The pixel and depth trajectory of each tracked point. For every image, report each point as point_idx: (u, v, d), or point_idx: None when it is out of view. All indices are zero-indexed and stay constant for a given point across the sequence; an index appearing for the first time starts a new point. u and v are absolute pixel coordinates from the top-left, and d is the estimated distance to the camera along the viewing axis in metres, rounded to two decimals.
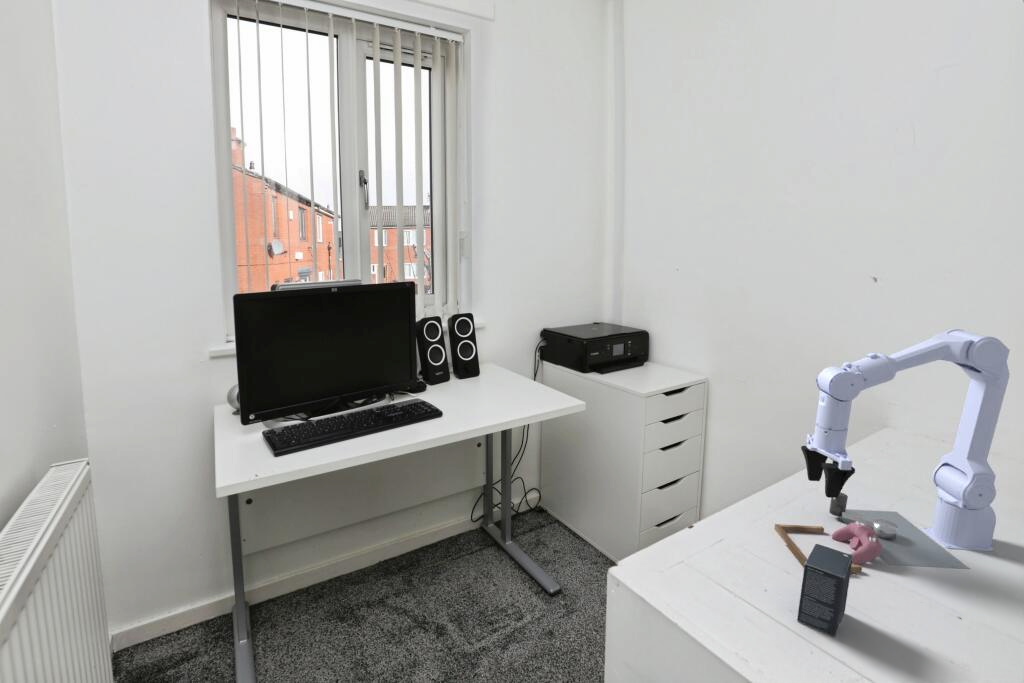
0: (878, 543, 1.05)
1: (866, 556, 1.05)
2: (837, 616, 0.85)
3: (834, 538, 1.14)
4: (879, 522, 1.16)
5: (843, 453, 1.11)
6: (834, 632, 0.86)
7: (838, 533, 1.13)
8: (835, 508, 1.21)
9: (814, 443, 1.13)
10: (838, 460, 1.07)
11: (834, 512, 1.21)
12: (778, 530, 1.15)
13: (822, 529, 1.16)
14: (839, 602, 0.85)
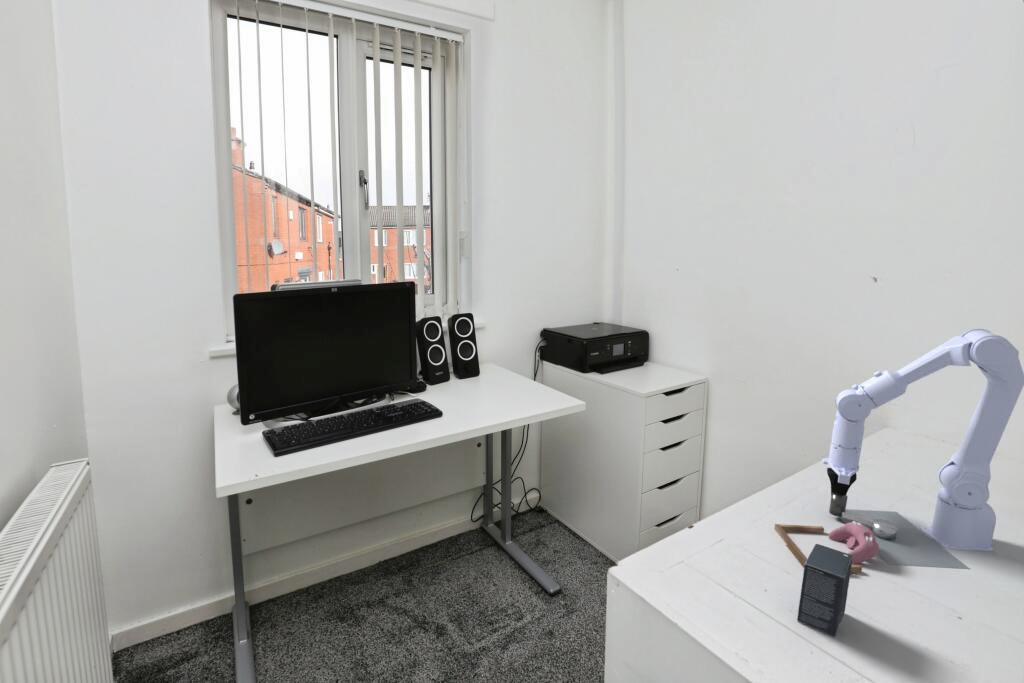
0: (875, 543, 1.05)
1: (863, 556, 1.05)
2: (837, 616, 0.85)
3: (831, 538, 1.14)
4: (879, 522, 1.16)
5: (852, 470, 1.19)
6: (834, 632, 0.86)
7: (835, 533, 1.13)
8: (835, 508, 1.21)
9: None
10: (838, 474, 1.17)
11: (834, 512, 1.21)
12: (778, 530, 1.15)
13: (822, 529, 1.16)
14: (839, 602, 0.85)
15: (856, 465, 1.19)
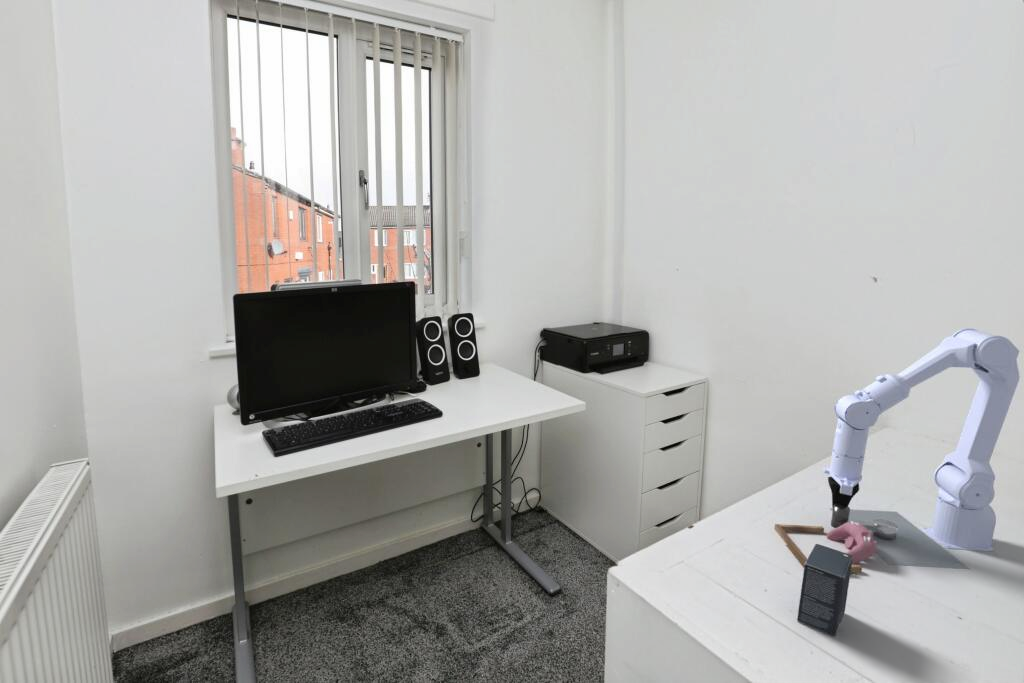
0: (873, 542, 1.05)
1: (860, 555, 1.05)
2: (837, 616, 0.85)
3: (829, 538, 1.14)
4: (880, 524, 1.15)
5: (854, 480, 1.14)
6: (834, 632, 0.86)
7: (833, 533, 1.13)
8: (843, 522, 1.15)
9: (830, 467, 1.18)
10: (840, 484, 1.12)
11: None
12: (778, 530, 1.15)
13: (822, 529, 1.16)
14: (839, 602, 0.85)
15: (859, 475, 1.14)
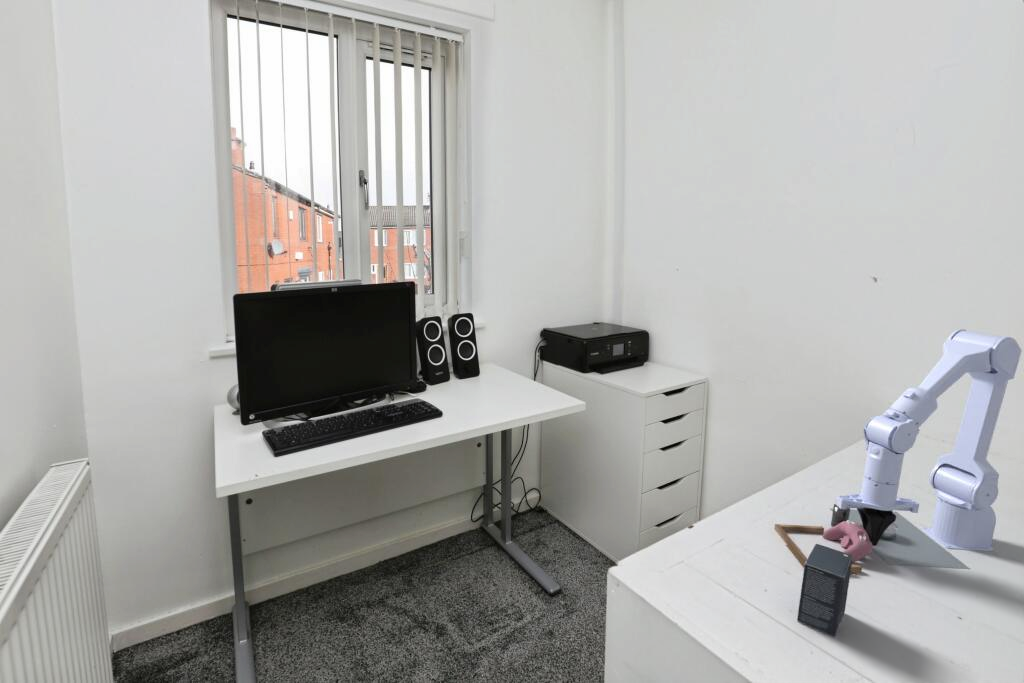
0: (868, 542, 1.05)
1: (856, 555, 1.05)
2: (837, 616, 0.85)
3: (825, 537, 1.14)
4: None
5: (868, 504, 1.06)
6: (834, 632, 0.86)
7: (829, 532, 1.13)
8: None
9: None
10: None
11: None
12: (778, 530, 1.15)
13: (822, 529, 1.16)
14: (839, 602, 0.85)
15: (877, 501, 1.05)
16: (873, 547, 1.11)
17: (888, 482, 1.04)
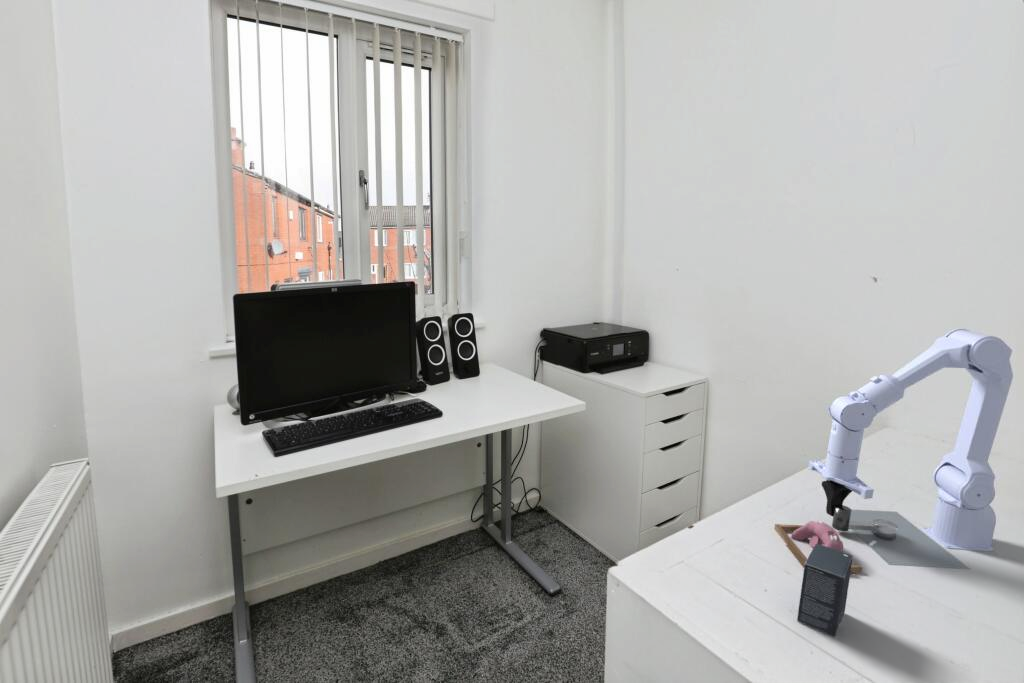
0: (839, 541, 1.05)
1: None
2: (837, 616, 0.85)
3: (794, 538, 1.13)
4: (880, 524, 1.15)
5: (856, 480, 1.14)
6: (834, 632, 0.86)
7: (797, 532, 1.13)
8: (844, 524, 1.14)
9: (829, 472, 1.15)
10: (860, 489, 1.10)
11: (843, 528, 1.15)
12: (778, 530, 1.15)
13: None
14: (839, 602, 0.85)
15: None
16: (873, 547, 1.11)
17: (842, 456, 1.13)
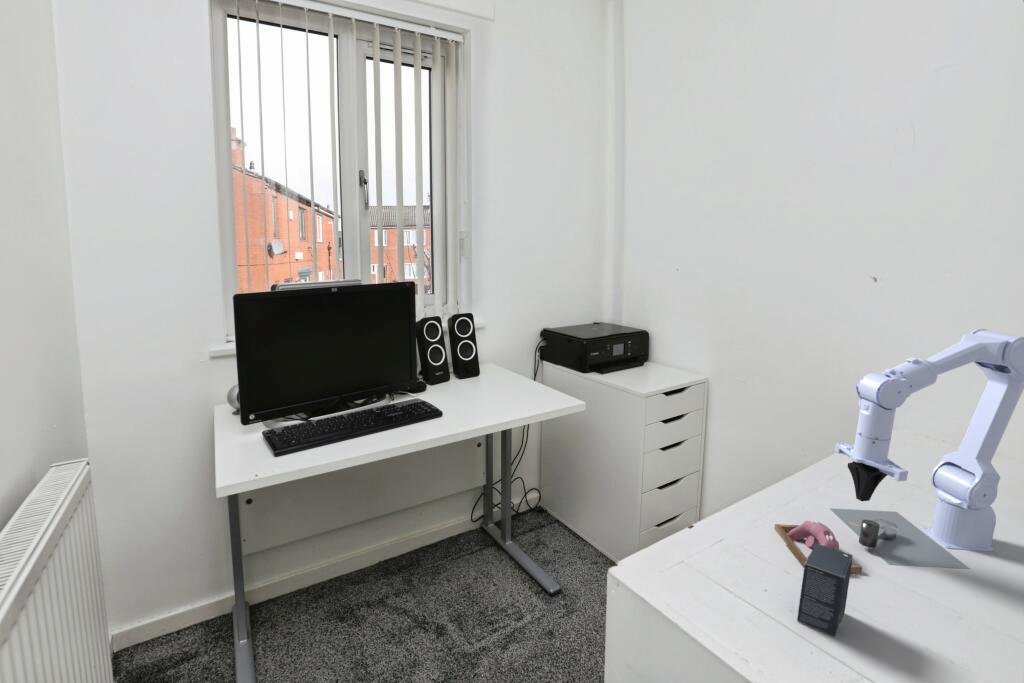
0: (835, 541, 1.05)
1: None
2: (837, 616, 0.85)
3: None
4: (883, 525, 1.15)
5: (888, 462, 1.07)
6: (834, 632, 0.86)
7: (794, 532, 1.13)
8: (876, 539, 1.09)
9: (858, 454, 1.08)
10: (894, 471, 1.03)
11: (875, 544, 1.09)
12: (778, 530, 1.15)
13: None
14: (839, 602, 0.85)
15: None
16: None
17: (877, 437, 1.06)
